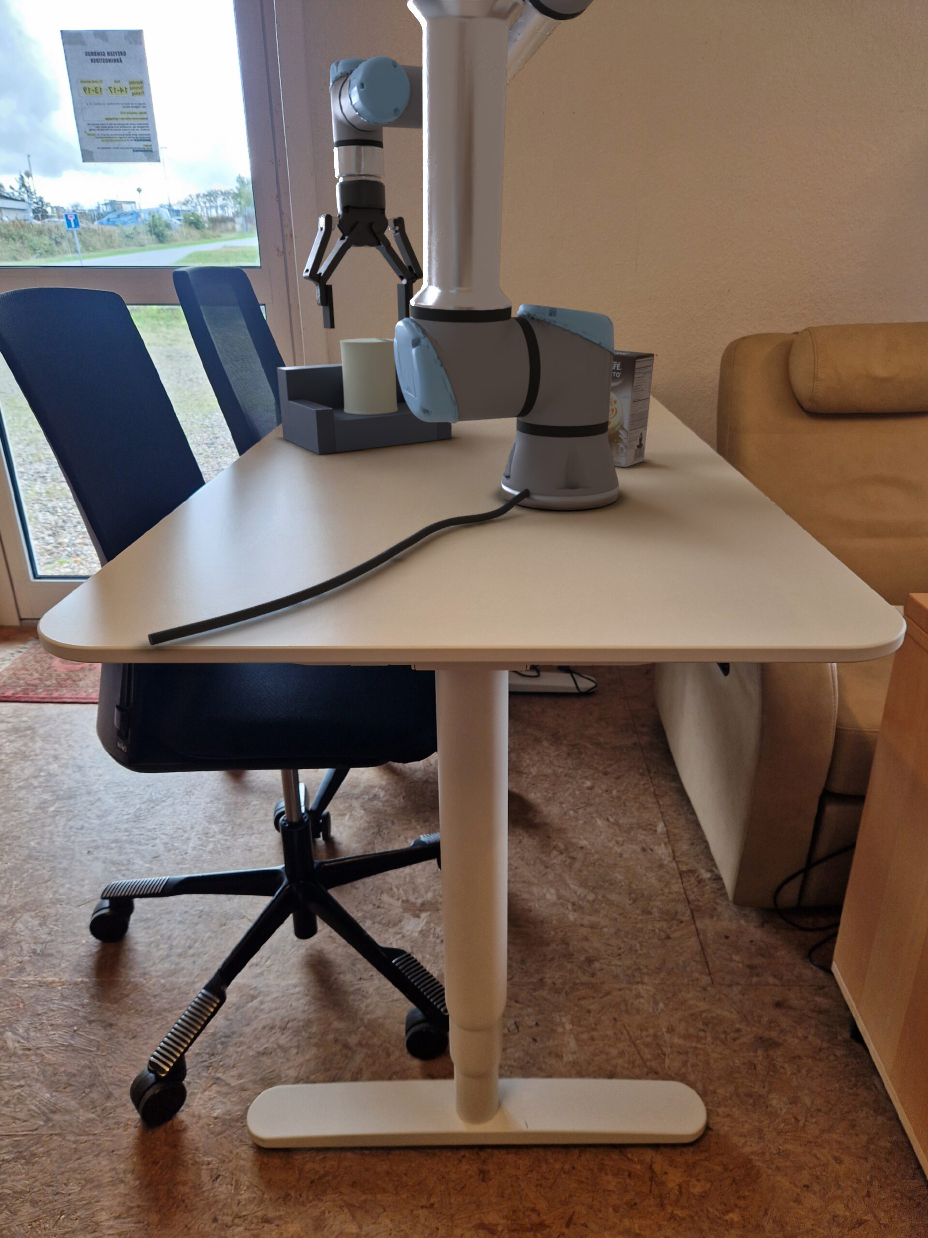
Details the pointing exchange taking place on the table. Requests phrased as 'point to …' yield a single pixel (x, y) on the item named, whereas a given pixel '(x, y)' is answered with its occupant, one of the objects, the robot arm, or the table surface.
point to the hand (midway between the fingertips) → (367, 326)
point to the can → (369, 376)
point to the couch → (343, 414)
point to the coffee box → (629, 406)
